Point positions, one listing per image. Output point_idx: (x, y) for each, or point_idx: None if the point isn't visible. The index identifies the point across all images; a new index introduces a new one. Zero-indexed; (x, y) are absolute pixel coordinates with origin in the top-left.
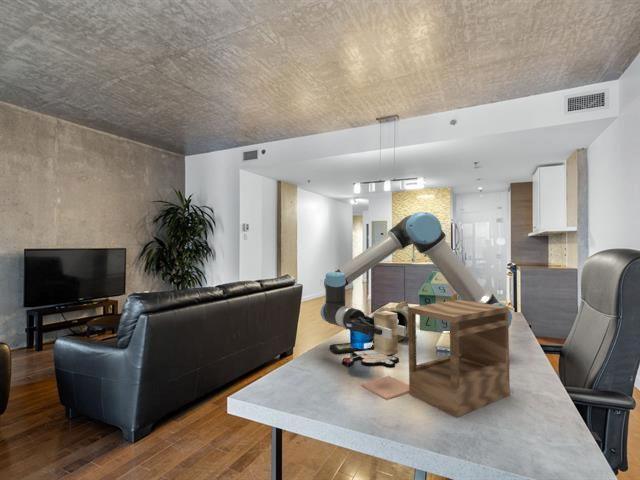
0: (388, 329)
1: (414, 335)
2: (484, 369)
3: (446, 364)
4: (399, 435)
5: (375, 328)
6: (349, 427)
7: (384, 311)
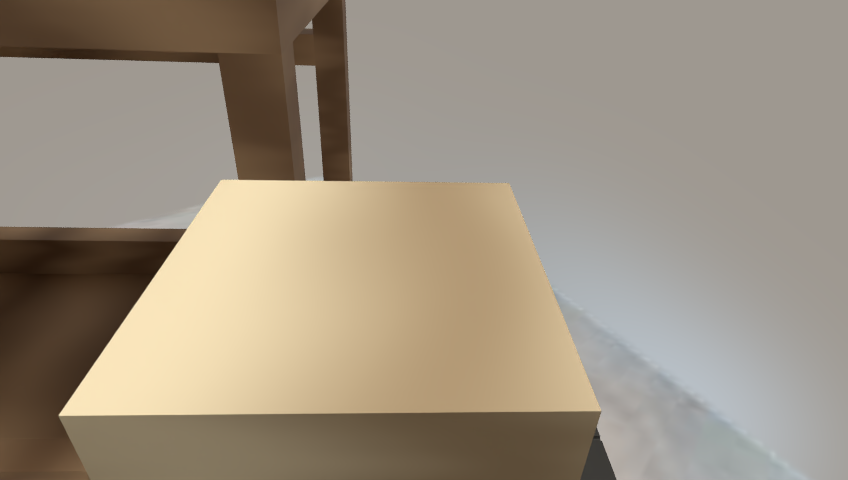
0: None
1: None
2: (150, 232)
3: (30, 431)
4: (603, 359)
5: (587, 472)
6: (780, 471)
7: (207, 374)
